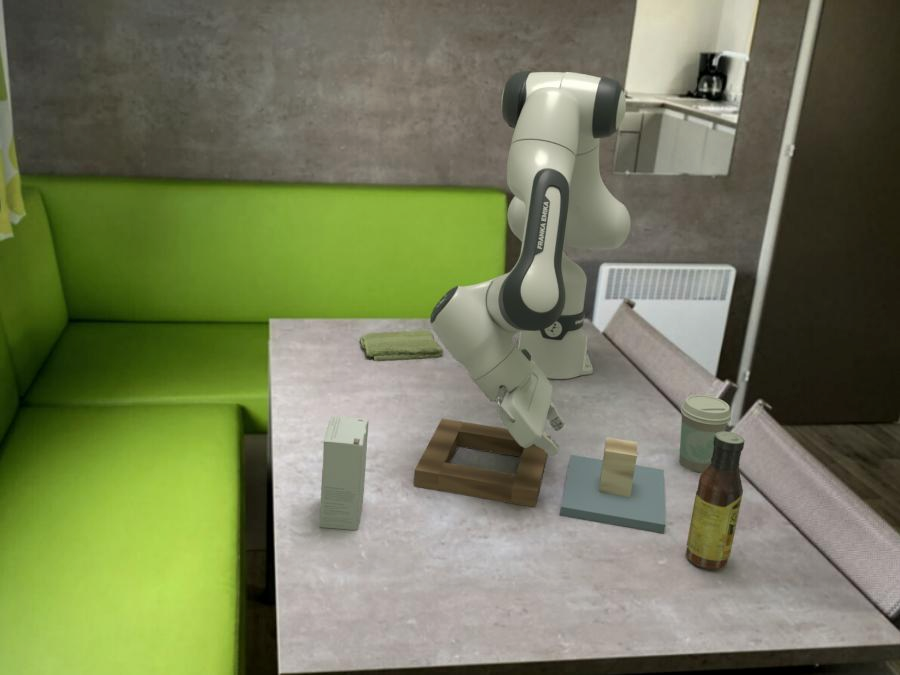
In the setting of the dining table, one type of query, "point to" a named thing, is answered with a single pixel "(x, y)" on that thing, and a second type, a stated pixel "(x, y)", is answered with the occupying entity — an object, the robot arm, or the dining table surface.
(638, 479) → the slate pad
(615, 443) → the maple peg
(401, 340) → the washcloth
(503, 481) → the pocket block
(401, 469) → the dining table surface
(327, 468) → the skincare box
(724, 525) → the sauce bottle
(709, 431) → the coffee cup
